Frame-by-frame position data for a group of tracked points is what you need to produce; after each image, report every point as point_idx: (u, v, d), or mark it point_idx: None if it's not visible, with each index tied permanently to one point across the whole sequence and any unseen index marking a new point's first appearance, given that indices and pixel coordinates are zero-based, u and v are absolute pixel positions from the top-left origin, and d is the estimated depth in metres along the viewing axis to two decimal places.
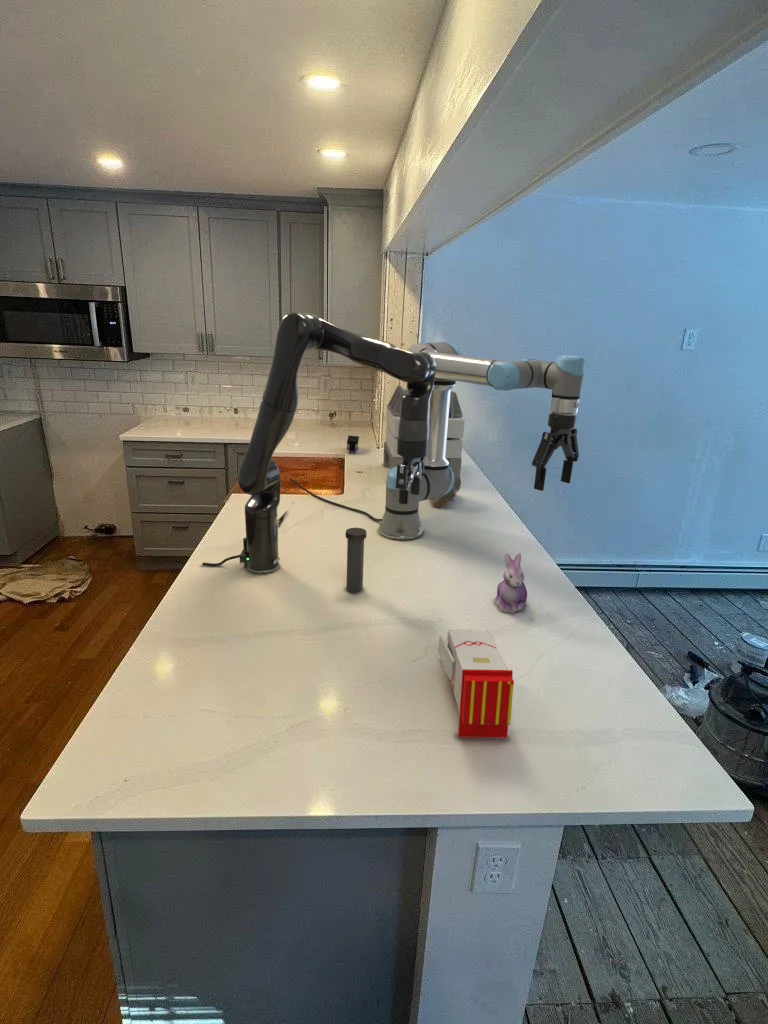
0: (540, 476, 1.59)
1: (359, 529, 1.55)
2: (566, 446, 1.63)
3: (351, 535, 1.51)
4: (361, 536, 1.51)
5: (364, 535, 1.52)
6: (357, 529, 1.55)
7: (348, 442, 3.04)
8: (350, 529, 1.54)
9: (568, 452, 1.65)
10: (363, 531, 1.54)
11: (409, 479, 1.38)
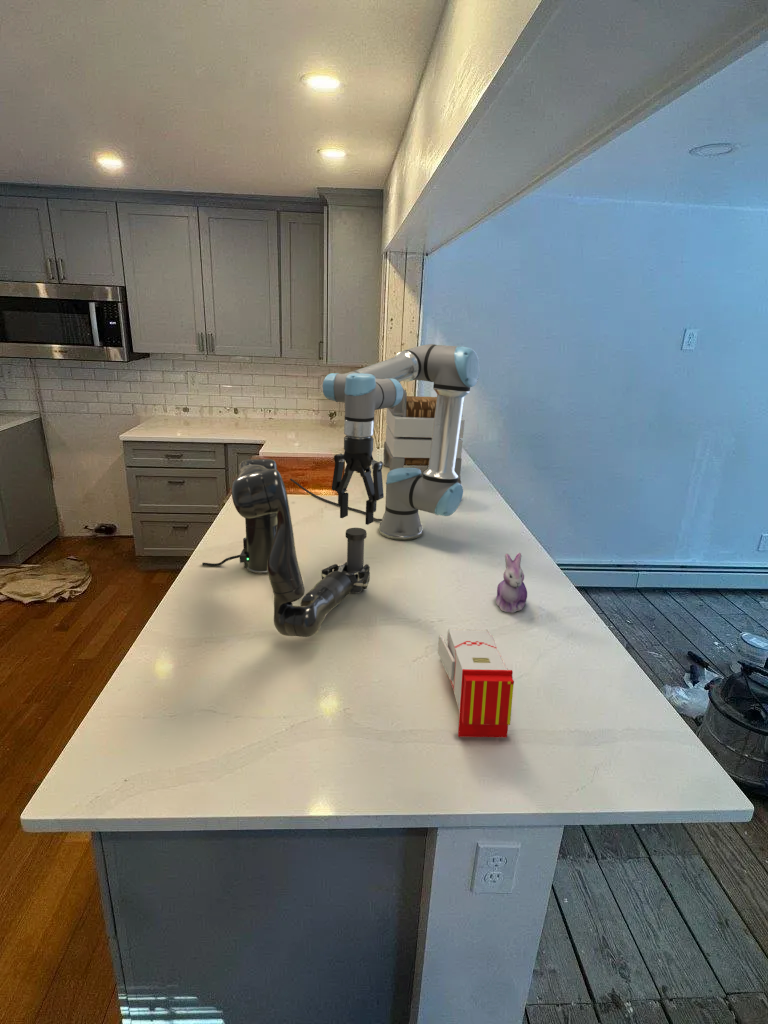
0: None
1: (359, 529, 1.55)
2: (352, 472, 1.50)
3: (351, 535, 1.51)
4: (361, 536, 1.51)
5: (364, 535, 1.52)
6: (357, 529, 1.55)
7: None
8: (350, 529, 1.54)
9: (348, 481, 1.51)
10: (363, 531, 1.54)
11: None
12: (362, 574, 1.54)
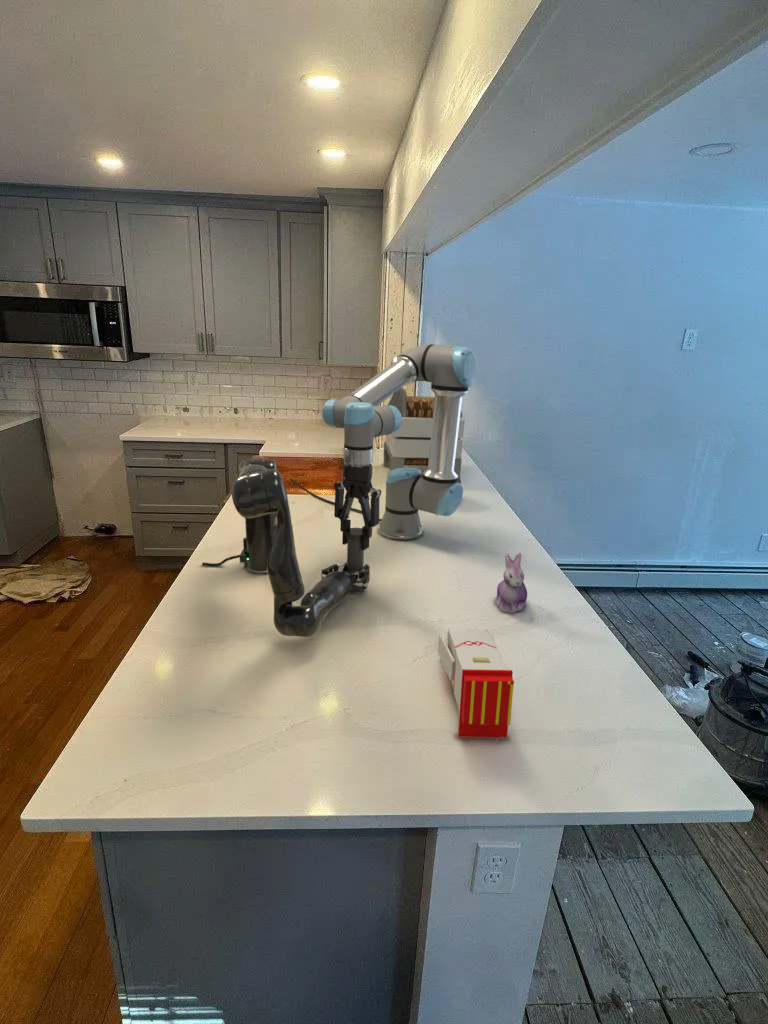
0: None
1: (359, 529, 1.55)
2: (352, 499, 1.52)
3: (351, 535, 1.51)
4: (361, 536, 1.51)
5: None
6: (357, 529, 1.55)
7: None
8: (350, 529, 1.54)
9: (350, 507, 1.53)
10: None
11: None
12: (362, 574, 1.54)
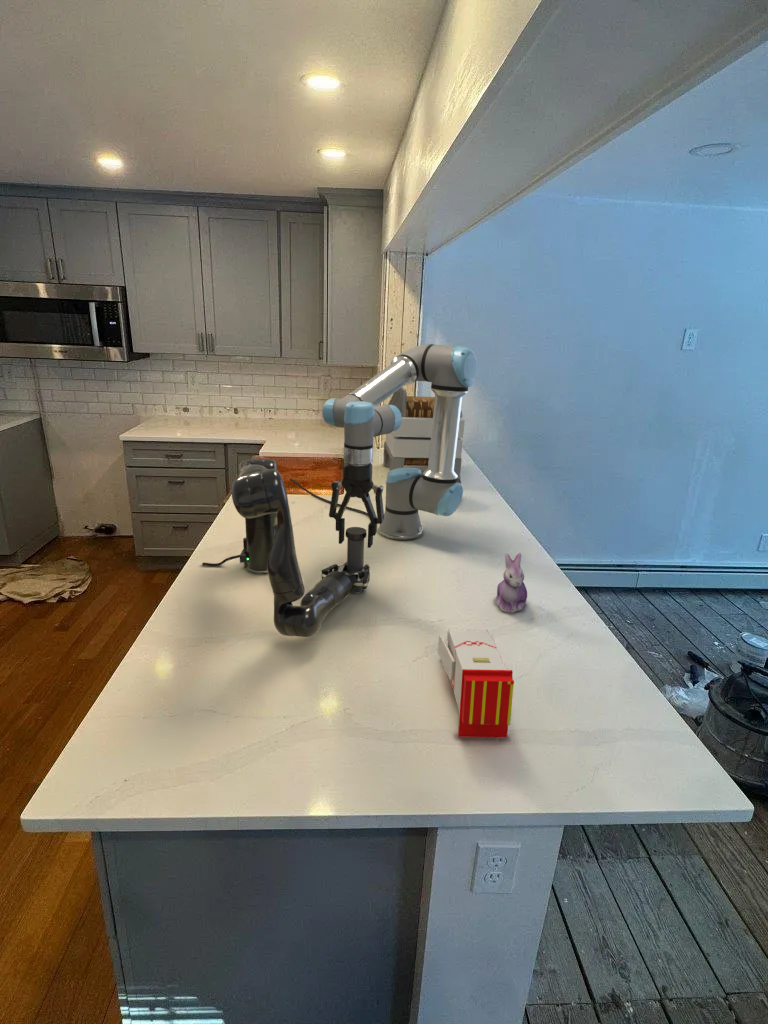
0: None
1: (351, 529, 1.54)
2: (349, 498, 1.51)
3: (364, 533, 1.52)
4: None
5: None
6: (351, 529, 1.54)
7: None
8: (350, 532, 1.52)
9: (346, 506, 1.52)
10: (356, 527, 1.55)
11: None
12: (362, 574, 1.54)
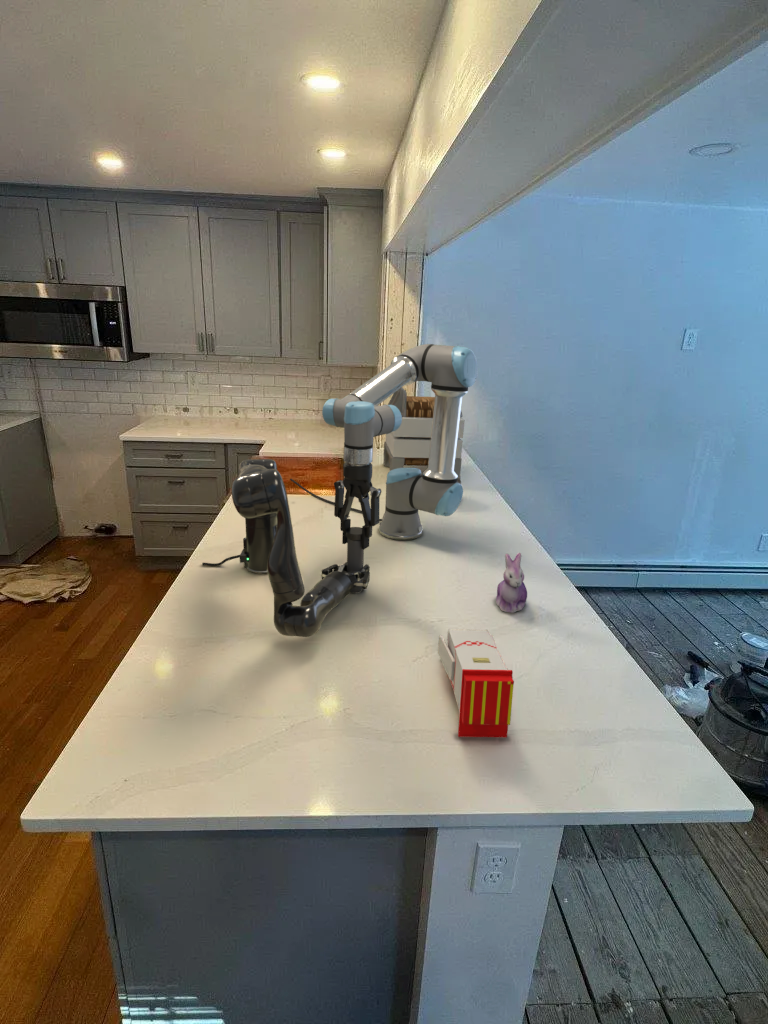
0: None
1: (351, 529, 1.54)
2: (352, 498, 1.52)
3: None
4: None
5: None
6: (351, 529, 1.54)
7: None
8: (350, 532, 1.52)
9: (350, 506, 1.53)
10: (356, 527, 1.55)
11: None
12: (362, 574, 1.54)
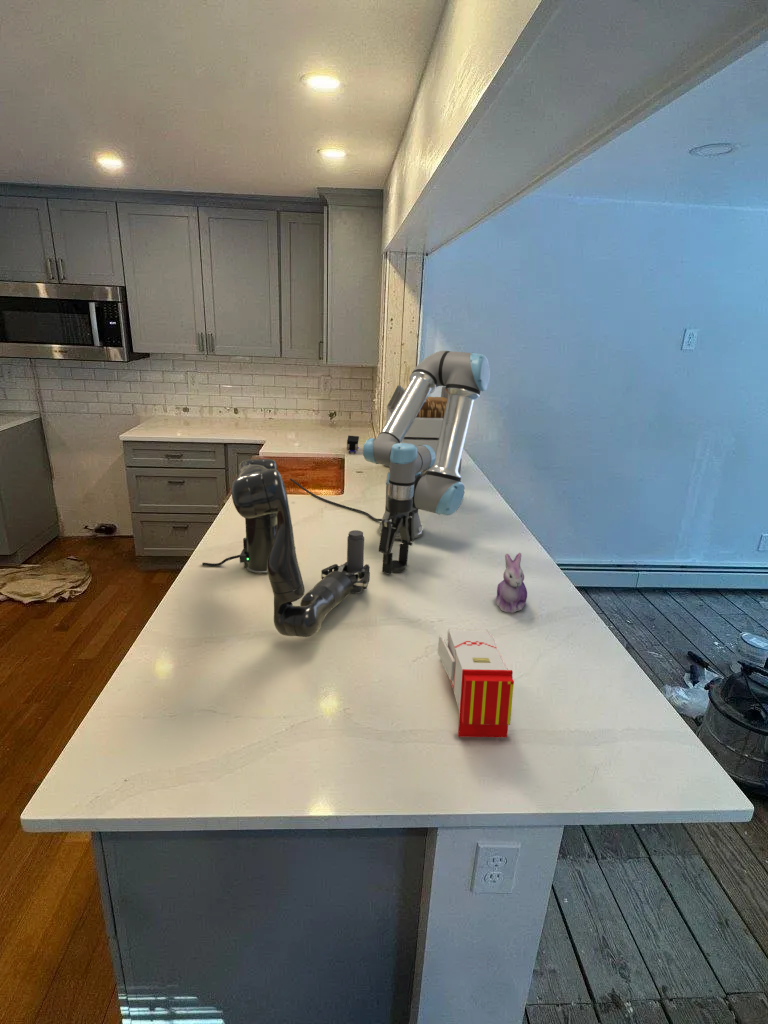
0: None
1: (392, 565, 1.71)
2: None
3: None
4: None
5: None
6: (394, 565, 1.71)
7: (348, 442, 3.04)
8: (400, 566, 1.71)
9: None
10: None
11: None
12: (362, 574, 1.54)
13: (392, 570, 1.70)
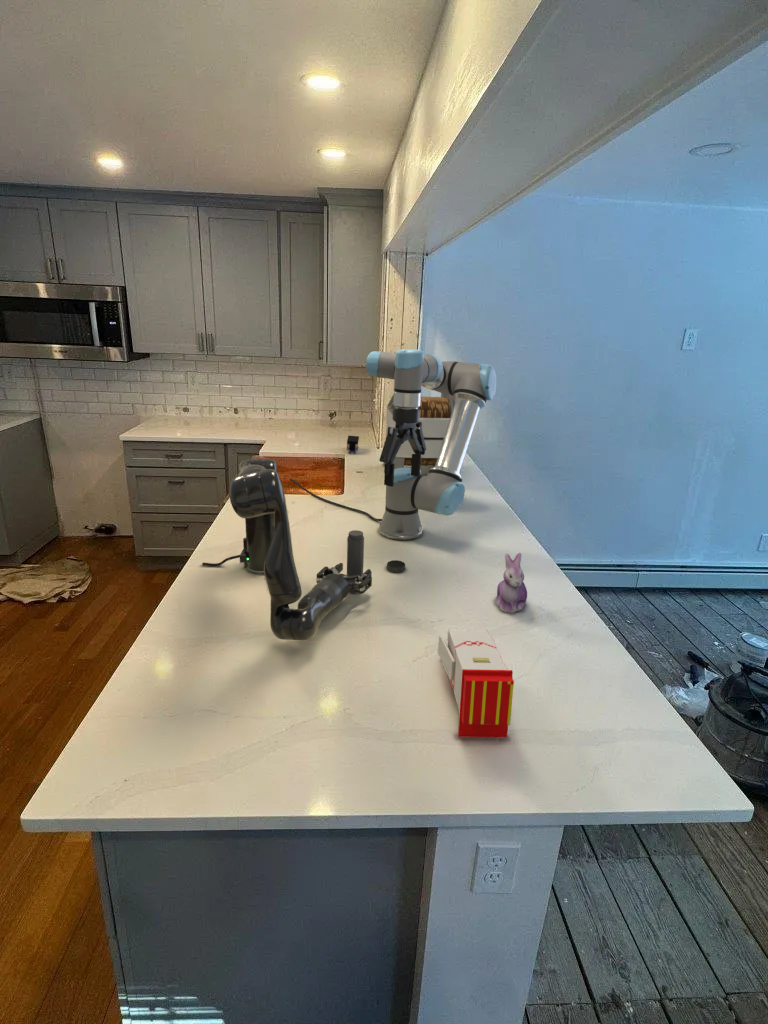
0: None
1: (392, 565, 1.71)
2: None
3: None
4: None
5: None
6: (394, 565, 1.71)
7: (348, 442, 3.04)
8: (400, 566, 1.71)
9: None
10: (389, 563, 1.73)
11: None
12: (364, 579, 1.51)
13: (392, 570, 1.70)
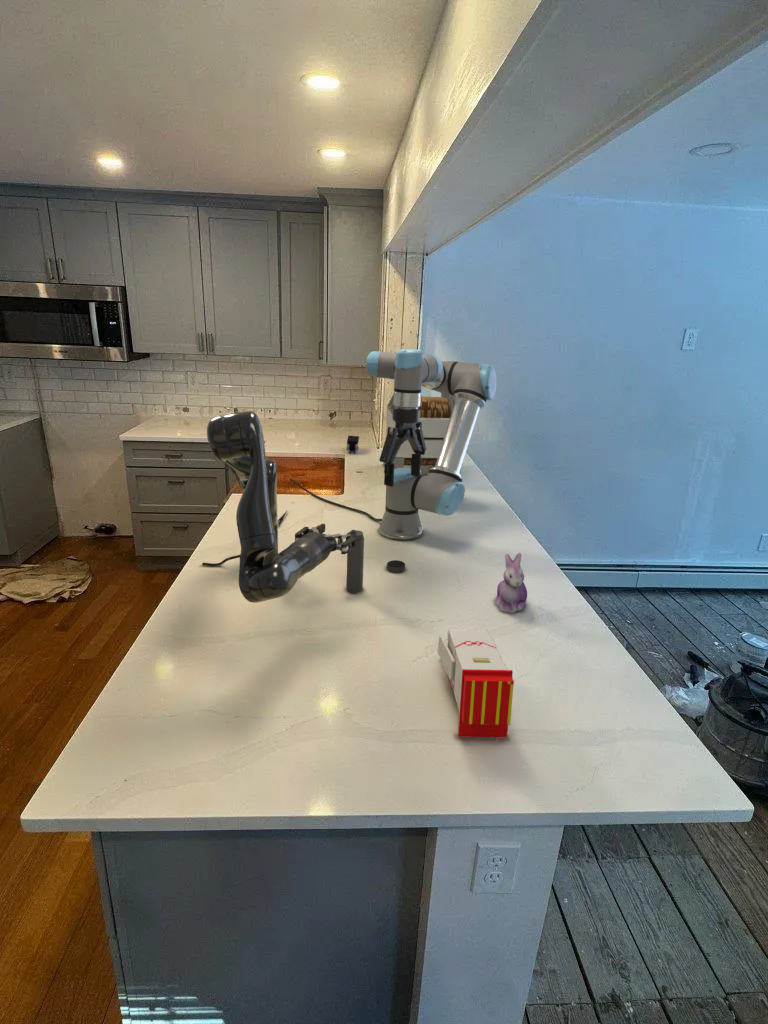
0: None
1: (392, 565, 1.71)
2: None
3: None
4: None
5: None
6: (394, 565, 1.71)
7: (348, 442, 3.04)
8: (400, 566, 1.71)
9: None
10: (389, 563, 1.73)
11: None
12: (348, 539, 1.37)
13: (392, 570, 1.70)
